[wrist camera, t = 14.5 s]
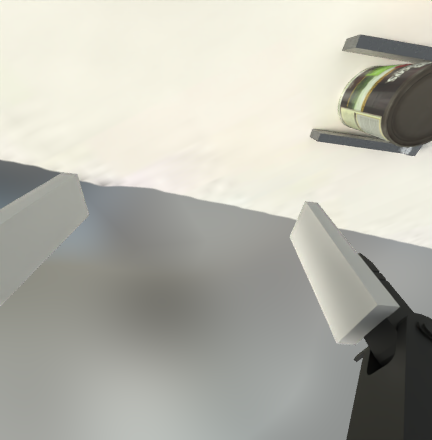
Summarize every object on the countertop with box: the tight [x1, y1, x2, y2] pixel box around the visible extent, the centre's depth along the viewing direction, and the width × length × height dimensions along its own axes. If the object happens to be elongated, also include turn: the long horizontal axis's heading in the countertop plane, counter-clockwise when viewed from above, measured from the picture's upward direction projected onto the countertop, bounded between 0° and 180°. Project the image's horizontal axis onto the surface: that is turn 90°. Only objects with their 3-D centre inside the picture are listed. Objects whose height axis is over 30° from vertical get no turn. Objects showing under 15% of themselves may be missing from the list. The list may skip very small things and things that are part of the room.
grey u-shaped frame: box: [310, 35, 432, 156], centre depth 36 cm, size 16×20×5 cm
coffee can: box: [338, 62, 432, 147], centre depth 32 cm, size 10×10×14 cm
